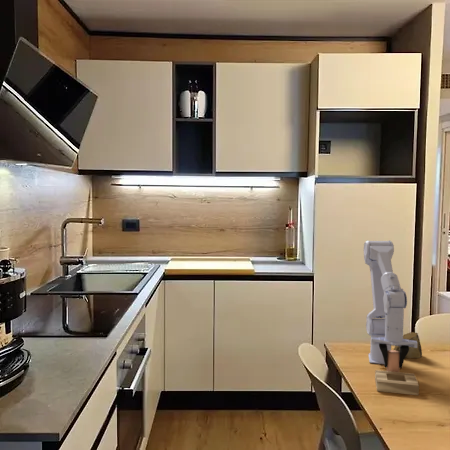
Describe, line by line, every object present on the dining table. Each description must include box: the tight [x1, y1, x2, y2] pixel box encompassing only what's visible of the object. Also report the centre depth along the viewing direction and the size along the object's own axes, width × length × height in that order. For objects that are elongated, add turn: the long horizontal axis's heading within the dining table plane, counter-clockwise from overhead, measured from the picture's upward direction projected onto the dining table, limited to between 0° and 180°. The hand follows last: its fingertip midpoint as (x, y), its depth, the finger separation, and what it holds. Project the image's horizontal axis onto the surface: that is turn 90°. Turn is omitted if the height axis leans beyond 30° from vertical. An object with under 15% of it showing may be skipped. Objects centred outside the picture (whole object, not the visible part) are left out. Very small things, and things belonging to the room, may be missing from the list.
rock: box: [393, 331, 423, 359], centre depth 180 cm, size 11×9×10 cm
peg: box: [386, 349, 400, 372], centre depth 160 cm, size 4×4×8 cm
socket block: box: [374, 369, 420, 396], centre depth 150 cm, size 10×12×3 cm
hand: (393, 366), depth 160 cm, fingers closed on peg, 4 cm apart
